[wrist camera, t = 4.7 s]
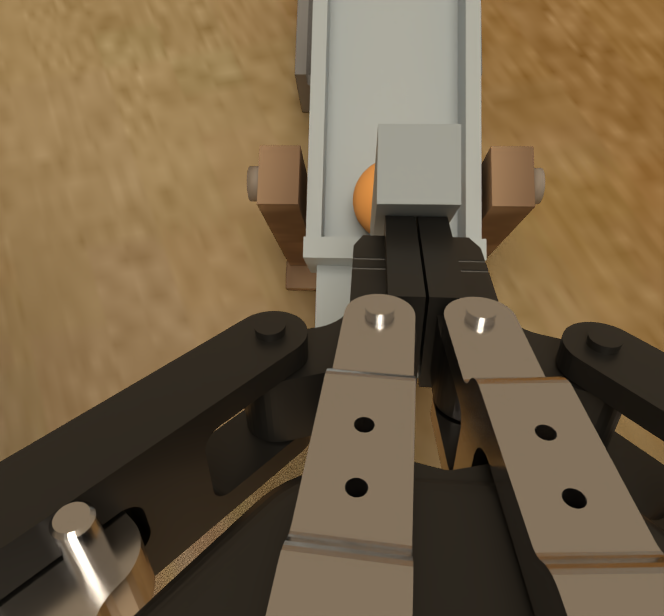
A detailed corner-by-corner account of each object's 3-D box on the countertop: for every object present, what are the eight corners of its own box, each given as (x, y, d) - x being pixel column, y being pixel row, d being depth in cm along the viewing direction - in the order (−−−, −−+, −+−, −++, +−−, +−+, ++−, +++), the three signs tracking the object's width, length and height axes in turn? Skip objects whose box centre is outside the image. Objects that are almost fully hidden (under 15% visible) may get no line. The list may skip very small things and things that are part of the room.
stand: (281, 289, 32) (242, 235, 21) (285, 207, 33) (248, 114, 22) (483, 293, 31) (550, 239, 20) (482, 209, 32) (545, 114, 21)
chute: (312, 373, 26) (254, 382, 12) (322, 9, 28) (284, -367, 13) (459, 377, 25) (584, 392, 11) (459, 8, 27) (567, -379, 13)
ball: (352, 247, 23) (351, 229, 20) (353, 174, 23) (353, 144, 20) (428, 248, 23) (439, 230, 20) (429, 174, 23) (440, 145, 20)
